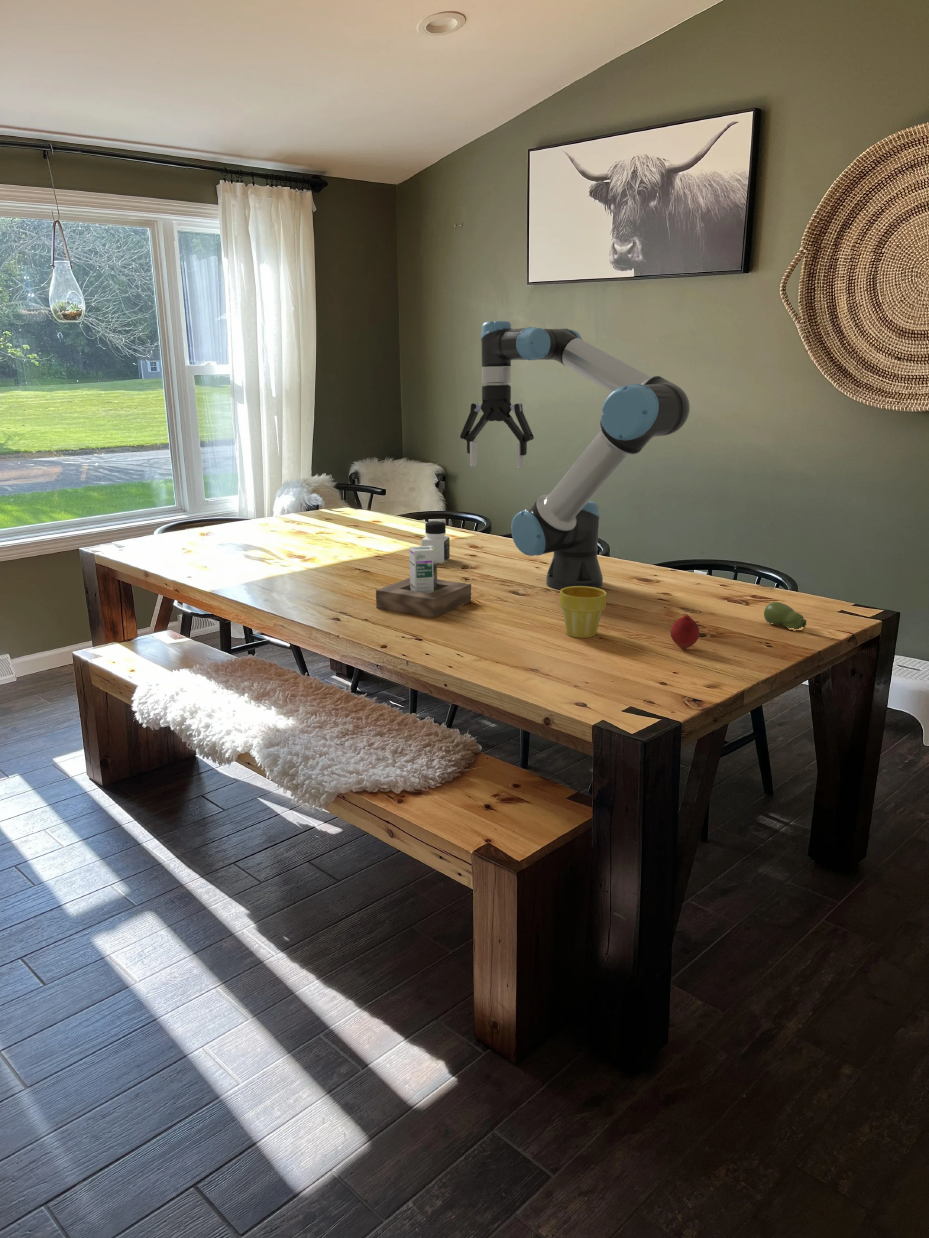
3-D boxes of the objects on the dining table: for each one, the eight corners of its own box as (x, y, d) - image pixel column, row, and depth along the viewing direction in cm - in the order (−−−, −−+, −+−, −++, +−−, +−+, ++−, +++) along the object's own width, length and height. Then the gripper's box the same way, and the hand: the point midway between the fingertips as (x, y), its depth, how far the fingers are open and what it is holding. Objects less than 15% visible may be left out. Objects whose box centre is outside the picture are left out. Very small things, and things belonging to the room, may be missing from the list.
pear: (777, 597, 208) (814, 613, 201) (771, 617, 210) (807, 634, 203) (762, 600, 205) (799, 617, 198) (756, 621, 207) (793, 638, 200)
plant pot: (612, 631, 201) (614, 589, 198) (594, 643, 192) (595, 599, 190) (569, 624, 206) (571, 583, 203) (550, 636, 197) (551, 593, 195)
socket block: (471, 601, 225) (471, 584, 224) (434, 617, 211) (434, 599, 210) (415, 592, 234) (415, 575, 232) (376, 607, 220) (375, 590, 218)
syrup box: (415, 608, 219) (414, 550, 215) (410, 602, 225) (409, 545, 220) (437, 606, 221) (437, 549, 217) (432, 600, 226) (431, 544, 222)
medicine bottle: (444, 563, 266) (444, 524, 262) (421, 562, 267) (420, 523, 264) (449, 558, 273) (449, 519, 269) (427, 557, 274) (426, 519, 271)
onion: (693, 644, 191) (696, 609, 189) (701, 653, 186) (704, 616, 184) (666, 645, 191) (668, 609, 189) (673, 653, 186) (676, 616, 183)
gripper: (546, 383, 228) (545, 467, 234) (460, 384, 239) (461, 463, 245) (535, 384, 222) (534, 470, 228) (446, 384, 233) (448, 466, 239)
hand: (496, 467), depth 236 cm, fingers open, 13 cm apart
